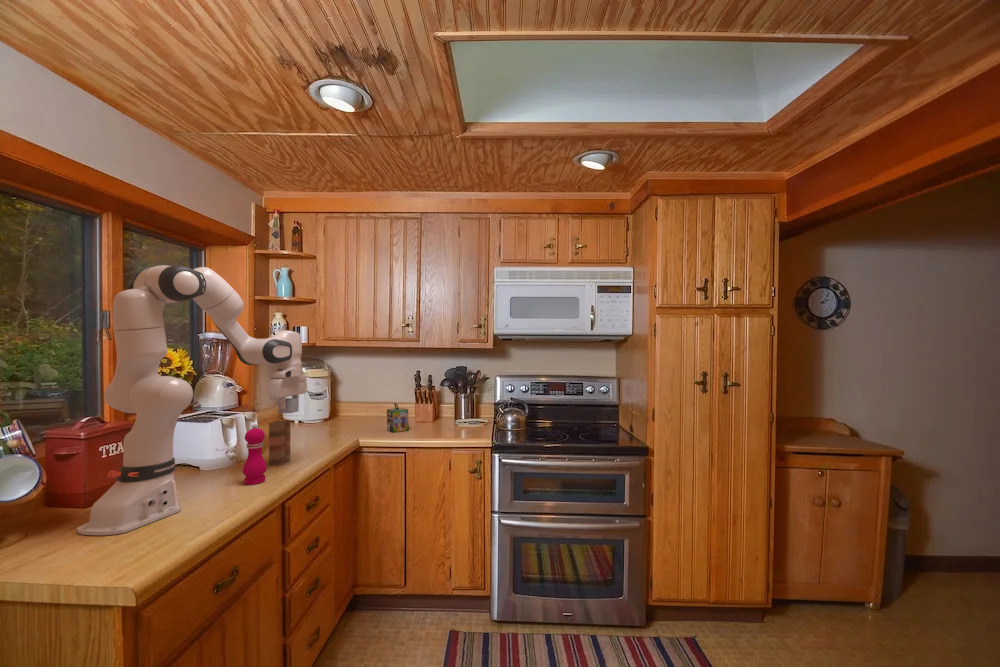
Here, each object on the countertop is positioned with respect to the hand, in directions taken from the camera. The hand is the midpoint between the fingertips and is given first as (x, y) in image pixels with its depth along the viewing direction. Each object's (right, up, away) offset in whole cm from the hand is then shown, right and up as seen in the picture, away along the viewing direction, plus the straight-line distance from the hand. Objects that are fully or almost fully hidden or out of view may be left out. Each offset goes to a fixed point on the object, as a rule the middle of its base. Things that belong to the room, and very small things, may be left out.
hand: (288, 407), depth 163 cm
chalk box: (+26, -24, +66) cm, 75 cm away
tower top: (-6, -12, +6) cm, 15 cm away
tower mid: (-6, -18, +5) cm, 20 cm away
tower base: (-6, -23, +5) cm, 25 cm away
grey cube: (0, -2, 0) cm, 2 cm away
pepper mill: (-3, -23, -17) cm, 29 cm away
